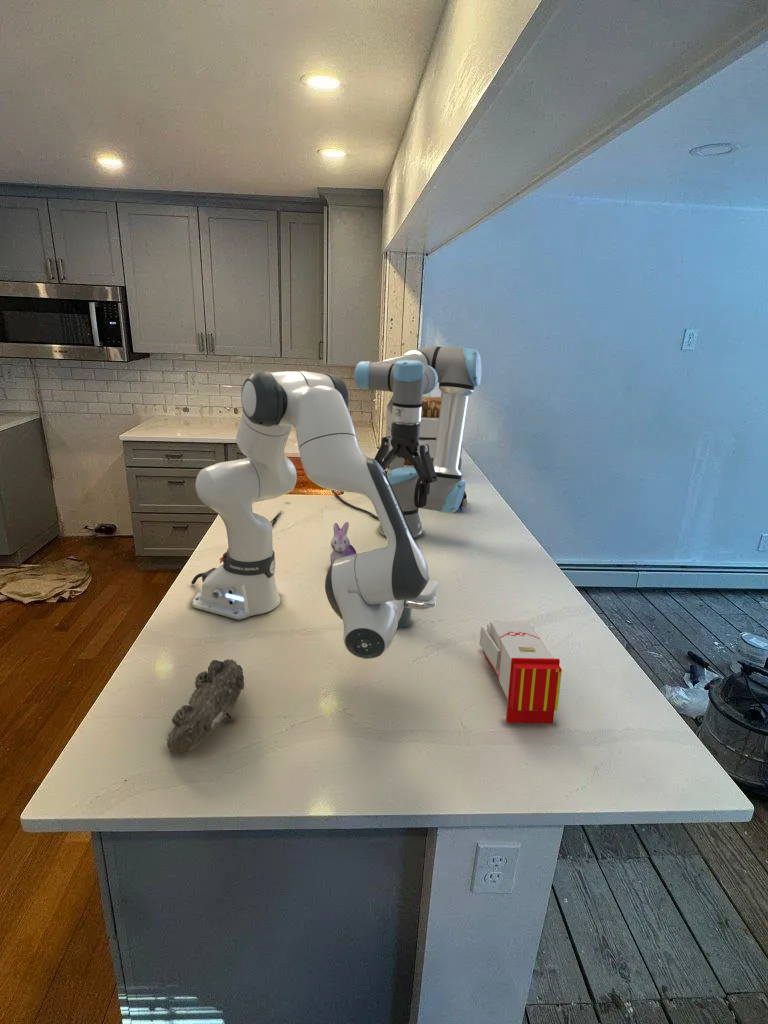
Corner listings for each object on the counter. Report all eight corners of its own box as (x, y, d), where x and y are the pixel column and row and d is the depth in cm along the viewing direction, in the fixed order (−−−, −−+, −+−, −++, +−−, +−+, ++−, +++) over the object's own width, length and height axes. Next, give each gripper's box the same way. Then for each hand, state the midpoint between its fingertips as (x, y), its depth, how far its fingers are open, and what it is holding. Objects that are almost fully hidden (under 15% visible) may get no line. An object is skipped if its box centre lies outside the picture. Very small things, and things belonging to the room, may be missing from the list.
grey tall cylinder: (385, 625, 142) (388, 569, 137) (393, 614, 147) (396, 560, 142) (406, 630, 140) (409, 573, 135) (413, 619, 145) (417, 564, 140)
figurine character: (467, 516, 223) (461, 500, 237) (469, 499, 220) (463, 483, 233) (450, 516, 223) (446, 499, 236) (452, 498, 220) (447, 483, 233)
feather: (288, 505, 226) (290, 501, 226) (271, 529, 199) (273, 524, 199) (284, 503, 226) (287, 499, 225) (266, 526, 199) (269, 522, 199)
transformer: (382, 463, 289) (386, 382, 275) (445, 464, 293) (451, 384, 279) (390, 482, 257) (394, 392, 243) (460, 483, 261) (468, 394, 247)
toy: (526, 605, 135) (570, 665, 105) (521, 658, 137) (563, 730, 108) (475, 604, 134) (506, 664, 105) (472, 657, 137) (500, 729, 108)
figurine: (335, 579, 164) (336, 531, 159) (322, 565, 172) (322, 519, 167) (364, 574, 168) (366, 527, 163) (350, 560, 177) (351, 515, 172)
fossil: (192, 660, 117) (244, 628, 112) (224, 691, 120) (276, 661, 115) (142, 746, 98) (202, 712, 93) (182, 779, 101) (242, 748, 96)
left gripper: (435, 594, 109) (442, 564, 122) (333, 581, 113) (350, 553, 125) (433, 622, 111) (440, 591, 124) (332, 609, 115) (349, 579, 127)
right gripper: (360, 416, 151) (357, 492, 158) (438, 432, 136) (431, 515, 143) (378, 413, 156) (375, 487, 163) (454, 428, 142) (448, 508, 149)
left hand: (394, 572), depth 125 cm, fingers open, 8 cm apart
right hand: (401, 500), depth 153 cm, fingers open, 13 cm apart
